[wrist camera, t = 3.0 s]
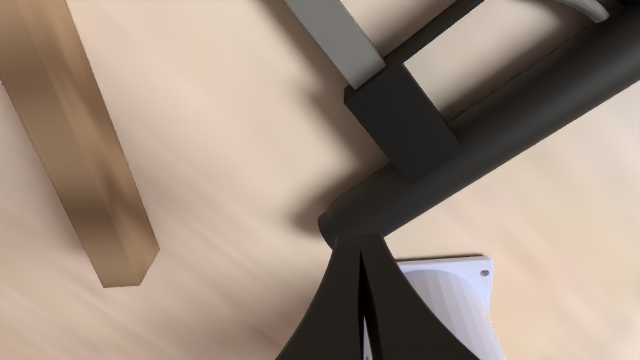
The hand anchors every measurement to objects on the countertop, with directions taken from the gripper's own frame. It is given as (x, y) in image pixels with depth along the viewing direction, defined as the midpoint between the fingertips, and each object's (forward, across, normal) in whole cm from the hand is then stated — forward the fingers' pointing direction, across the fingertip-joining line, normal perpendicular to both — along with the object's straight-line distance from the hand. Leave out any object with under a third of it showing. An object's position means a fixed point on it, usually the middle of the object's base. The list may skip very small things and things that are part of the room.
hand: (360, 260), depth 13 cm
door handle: (+10, -4, -5) cm, 12 cm away
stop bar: (+10, +13, -4) cm, 16 cm away
